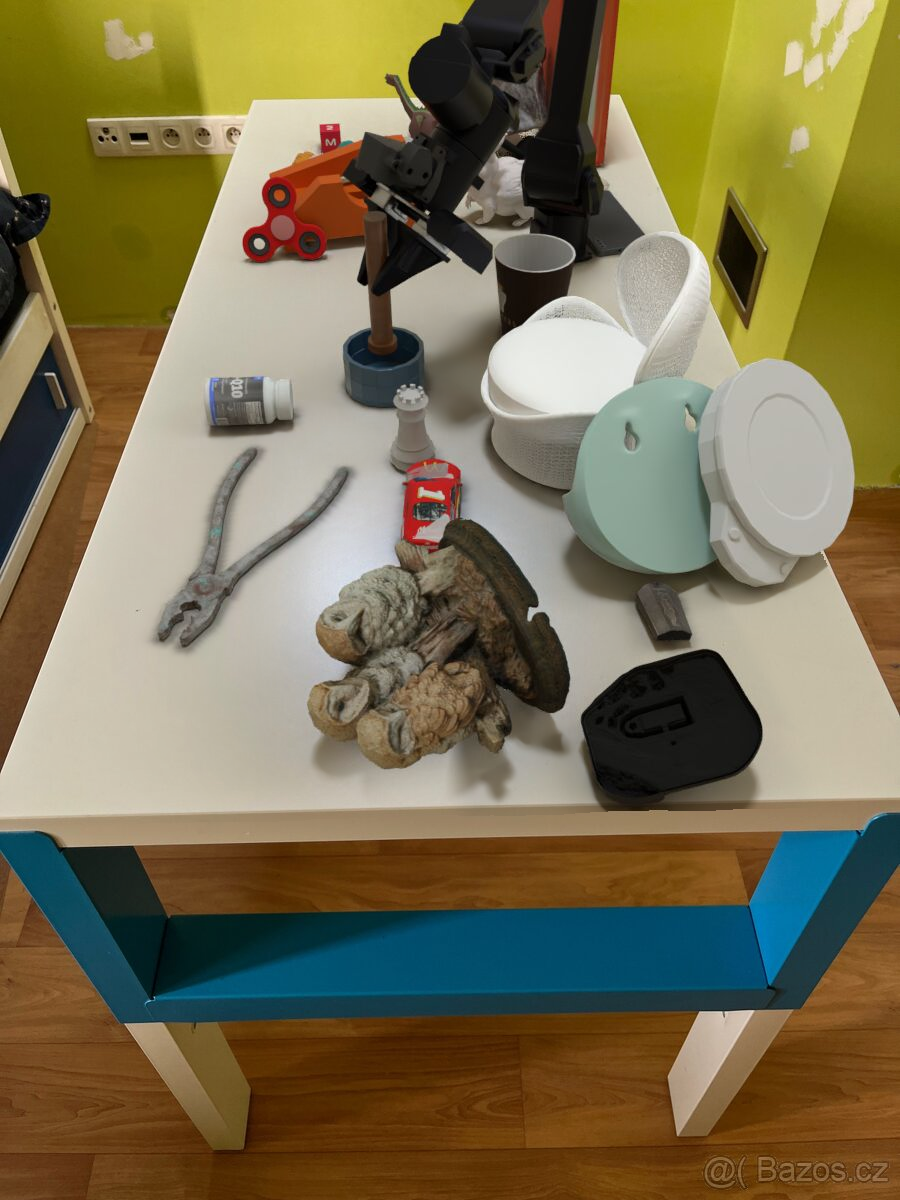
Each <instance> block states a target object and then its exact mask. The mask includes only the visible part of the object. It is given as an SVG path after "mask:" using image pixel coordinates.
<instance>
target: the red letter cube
mask: <svg viewBox="0 0 900 1200" xmlns="http://www.w3.org/2000/svg"><path fill="white" fill-rule="evenodd" d="M340 125H341V123H319V139H320V149H321V153H322V154H324V153H327V152H330V151H332V150H335V149H337V148H338V146H339V145H340V143H342V137H341V135H342V134H341V126H340Z"/></svg>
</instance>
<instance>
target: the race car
mask: <svg viewBox="0 0 900 1200" xmlns="http://www.w3.org/2000/svg"><path fill="white" fill-rule="evenodd" d="M461 477H462V470H461V469H460V468H459V467H458V466H457V465H456V464H453V463H452V462H450V461H446V460H444V459H439V458H435V459H428V460H424V461H421V462H418V463H416V464H414V465H412V466H411V467H410V468H409V469H408V470H407V472H406V477H405V481H402V482H401V485H402V486H403V487H405V488H404V498H403V510H402V511H403V512H402V520H401V526H400V541H402V540H406V541H408V542H409V543H413V544H414V545H415V546H416V547H417V548H418V547H425V548H428V549H429V552H430V553H433V552H436V551H438V546H439V541H440V540H441V538H442V537H443V532H444V530H445V526H446V525H447V523H449V522H450V521H452V520H454V519H456V518H459V517H461V496H462V495H461V487H463V483H462V482H461V480H462V479H461Z"/></svg>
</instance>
